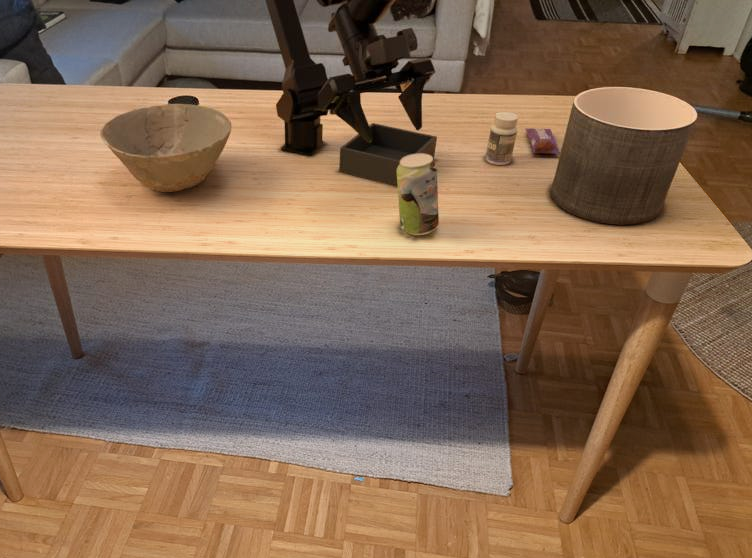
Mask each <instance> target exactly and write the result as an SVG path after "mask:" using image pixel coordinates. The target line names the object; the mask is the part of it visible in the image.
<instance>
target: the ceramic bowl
mask: <svg viewBox="0 0 752 558" xmlns="http://www.w3.org/2000/svg"><path fill="white" fill-rule="evenodd" d="M231 133H232V122H231V121H230V119H229V118H228V117H227V116H226V115H225V114H224V113H223V112H221V111H220V110H217V109H214V108H212V107H209V106H203V105H198V104H190V103H167V104H161V105H152V106H149V107H142V108H136V109H133V110H130V111H126V112H124V113H121V114H118V115H116V116H115V117H114V118H112V119H110V120H109V121H108V122H106V123H105V124H104V125H103V127H102V129H101V130H100V135H99V136H100V138H101V140H102V141H103V143H104V144H105V145H106V146H107V147H108V149H109V150H110V151H111V152H112V153H113V154H114V155H115V156H116V157H117V159H118V160H119V161H120V162H121V163H122V165H124V167H125V168H126V169H127V170H128V171H129V173H130V174H131V175H132V176H133V177H134V178H135V180H137V181H138V182H139V183H141V184H142V185H143V186H145V187H147V188H149V189H151V190H154V191H158V192H163V193H171V192H172V193H173V192H178V191H182V190H185V189H190V188H192V187H195V186H197V185H199V184H200V183H201V182H202V181H204V180H205V179H206V177H207V176H208V174H210V172H211V171H212V170H213V168H214V167H215V165H216V163H217V162H218V160H219V158H220V156H221V155H222V153H223V151H224V148H225V147H226V145H227V142H228V140H229V138H230V135H231Z"/></svg>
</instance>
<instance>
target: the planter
mask: <svg viewBox="0 0 752 558" xmlns="http://www.w3.org/2000/svg"><path fill="white" fill-rule="evenodd" d="M571 105H572V106H571V109H570V113H569V114H570V115H569V118H568V121H567V125H566V129H565V134H564V138H563V141H562V146H561V149H560V154H559V157H558V161H557V165H556V169H555V173H554V177H553V181H552V184H551V187H550V196H551V199H552V200H553V202H554V203H555V204H556V205H557V206H558V207H559V208H560V209H561V208H562V209H563V210H564V211H566V212H568V213H570V214H571V215H574V216H576V217H578V218H582V219H584V220H589V221H591V222H595V223H596V222H597V223H601V224H608V225H638V224H642V223H646V222H649V221H651V220H653V219H655V218H656V217H658V216H659V215H660V214H661V212H662V210H663V207H664V204H665V201H666V199H667V198H666V197H667V196H668V193H669V190H670V188H671V186H672V183H673V180H674V178H675V175H676V172H677V170H678V168H679V165H680V164H681V163H680V162H681V160H682V157H683V155H684V153H685V150H686V148H687V145H688V143H689V140H690V136H691V134H692V133H693V129H694V127H695V124H696V122H697V119H698V112H697V110H696V109H695V108H694V107H693V106H692V105H691V104H689V103H688V102H687V101H685V100H683V99H680V98H678V97H676V96H673V95H670V94H668V93H667V94H666V93H663V92H660V91H656V90H650V89H645V88H639V87H629V86H627V87H626V86H605V87H596V88H591V89H588V90H585V91H582V92H579V93H578V94H576V96H575V97H574V98H573V102H572V104H571Z"/></svg>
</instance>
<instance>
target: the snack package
mask: <svg viewBox="0 0 752 558" xmlns="http://www.w3.org/2000/svg"><path fill="white" fill-rule="evenodd" d="M525 131H526V134H527V137H528V140H529V143H530V146H531V149H532V153H534V154H552V155H555V154H557V155H560V153H561V150H559V147H558V144H557V141H556V139H555V137H554V134H553V131H552V129H550V128H536V127H535V128H534V127H531V128H525Z"/></svg>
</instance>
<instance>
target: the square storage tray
mask: <svg viewBox="0 0 752 558" xmlns="http://www.w3.org/2000/svg"><path fill="white" fill-rule="evenodd" d="M369 127H370V130H371V133H372V137H373V140H372V141H371V142H370V143H368V142H367V141H366V140H365V139H364V138H363V137H361V136H360V135H359V134H358V133H357V134H356V135H355V136H354V137H352V138H351V139H350V140H348V141H347V142H345V143H344V144H343V145H342V146H341V147H340V148H339V168H338V169H339V170H338V172H339V173H342V174H346V175H350V176H354V177H358V178H362V179H366V180H371V181H375V182H379V183H382V184H386V185H390V186H394V187H398V185H397V168H398V166H399V164H400V160H401V159H402V158H403V157H405V156H407V155H411V154H417V153H423V154H428V155H431V156H432V157H433V161H434V162H435V155H436V148H437V142H438V141H437V139H438V136H436V135H431V134H427V133H422V132H418V131H412V130H407V129H403V128H398V127H393V126H388V125H384V124H380V123H375V122H372V123H370V124H369Z"/></svg>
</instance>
